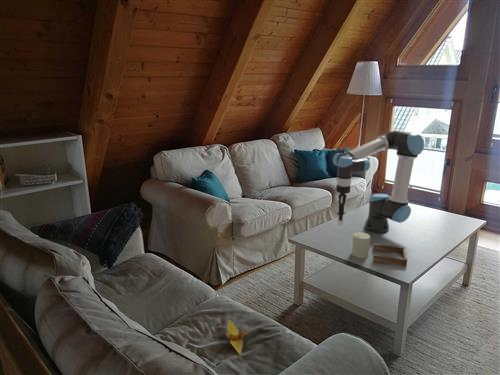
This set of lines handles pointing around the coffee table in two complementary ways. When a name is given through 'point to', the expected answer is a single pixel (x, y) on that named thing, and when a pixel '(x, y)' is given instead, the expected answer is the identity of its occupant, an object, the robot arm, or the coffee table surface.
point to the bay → (390, 259)
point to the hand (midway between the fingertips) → (340, 225)
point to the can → (360, 245)
